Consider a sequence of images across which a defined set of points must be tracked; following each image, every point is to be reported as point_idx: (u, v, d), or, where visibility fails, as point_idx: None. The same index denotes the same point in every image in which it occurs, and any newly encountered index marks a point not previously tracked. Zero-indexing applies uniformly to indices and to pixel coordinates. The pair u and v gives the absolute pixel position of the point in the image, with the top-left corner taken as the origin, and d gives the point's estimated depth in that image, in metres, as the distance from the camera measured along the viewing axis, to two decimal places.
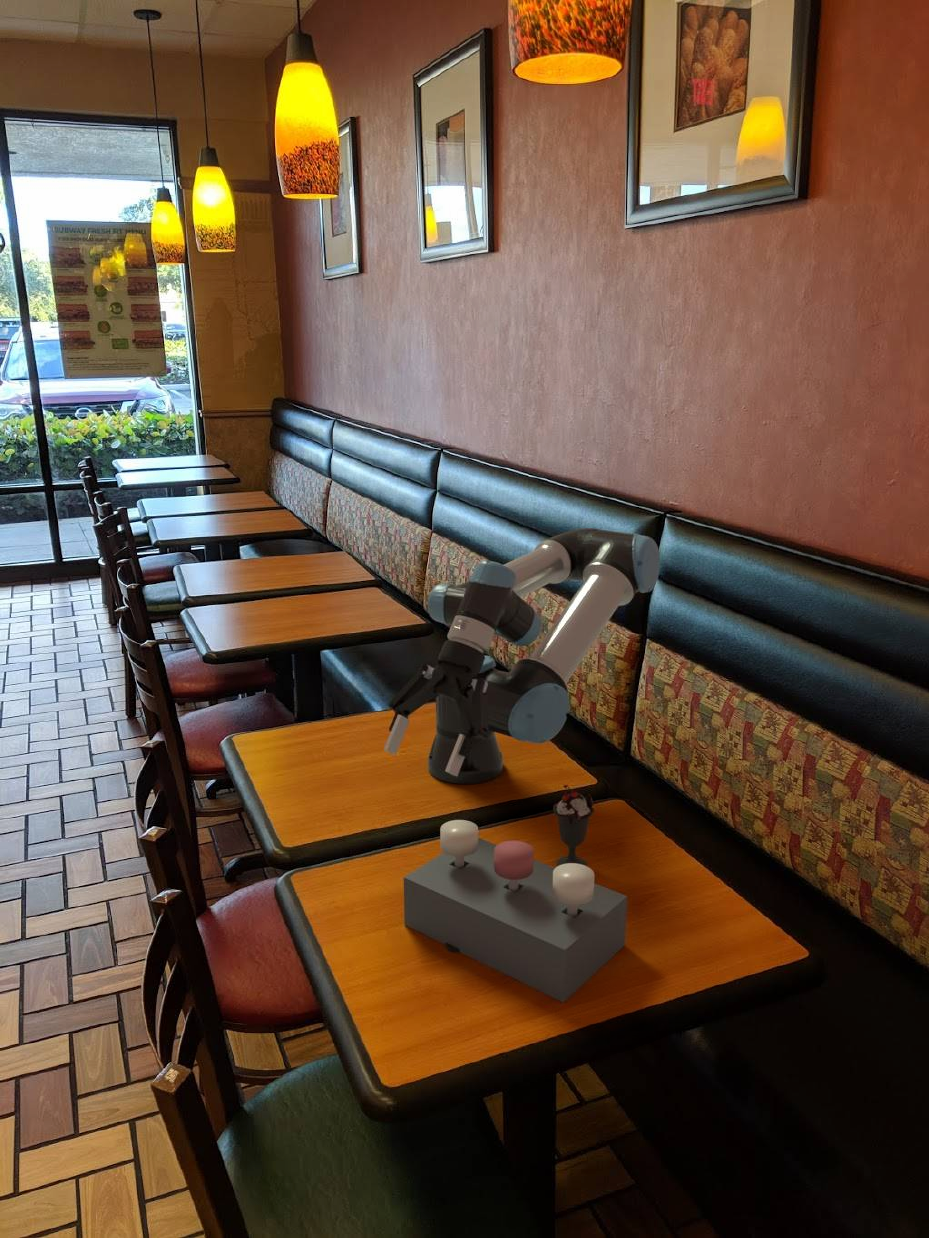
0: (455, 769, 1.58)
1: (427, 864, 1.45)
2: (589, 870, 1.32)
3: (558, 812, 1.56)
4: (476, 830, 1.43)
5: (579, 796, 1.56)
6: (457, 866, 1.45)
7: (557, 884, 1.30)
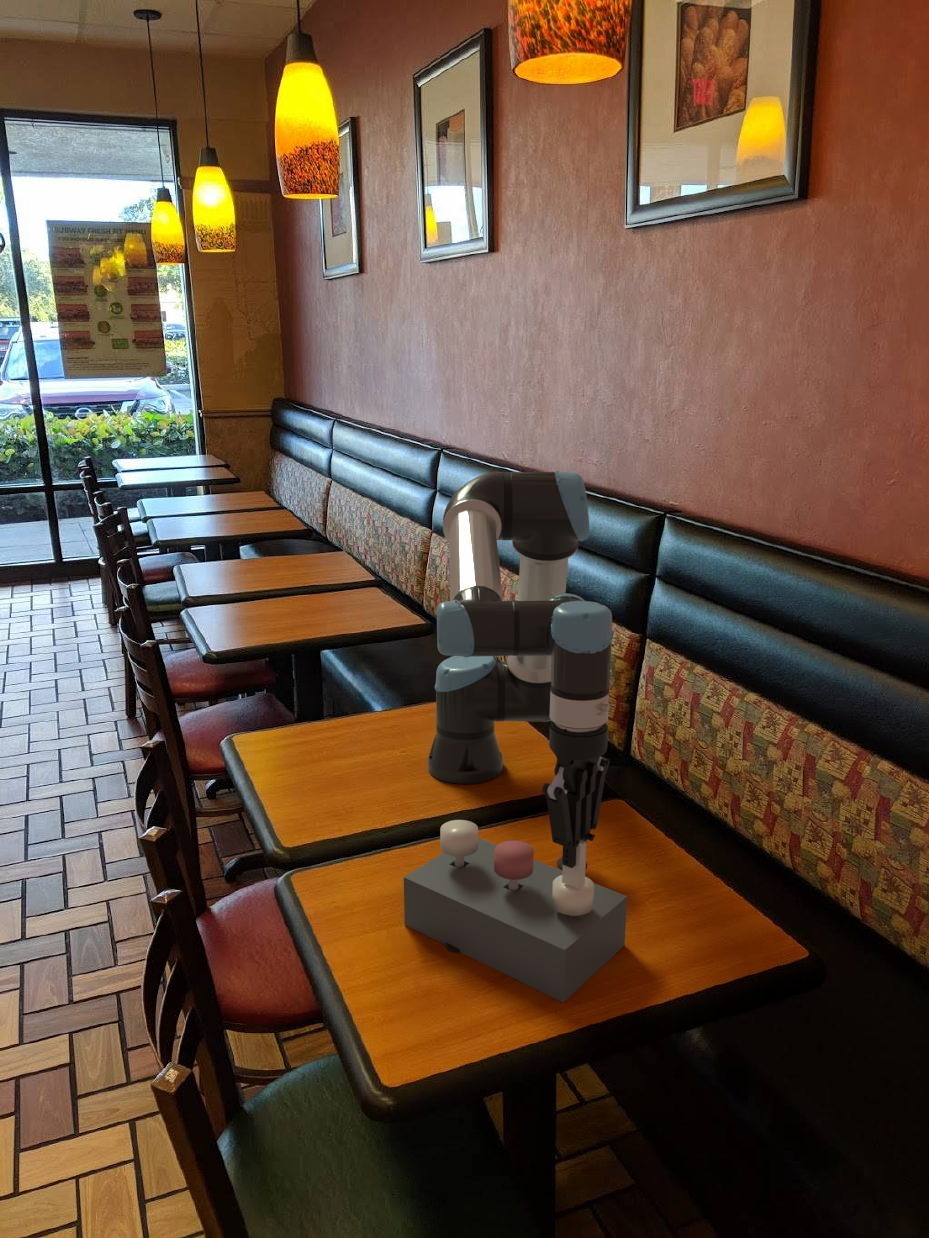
0: None
1: (427, 864, 1.45)
2: (589, 881, 1.33)
3: None
4: (476, 830, 1.43)
5: None
6: (457, 866, 1.45)
7: (557, 895, 1.31)
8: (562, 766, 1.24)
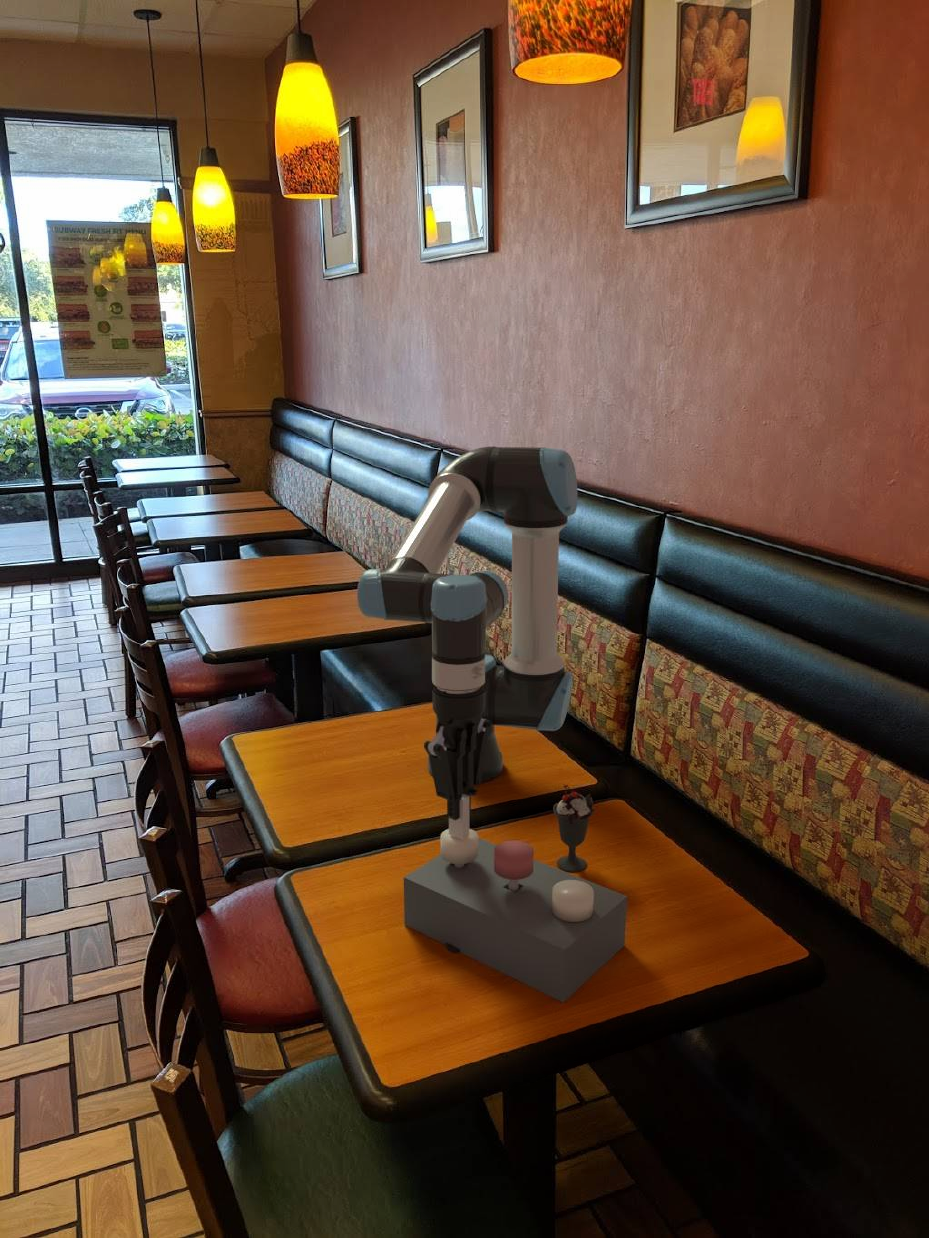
0: None
1: (427, 864, 1.45)
2: (588, 887, 1.33)
3: (558, 812, 1.56)
4: (476, 837, 1.43)
5: (579, 796, 1.56)
6: None
7: (557, 901, 1.31)
8: (442, 725, 1.36)
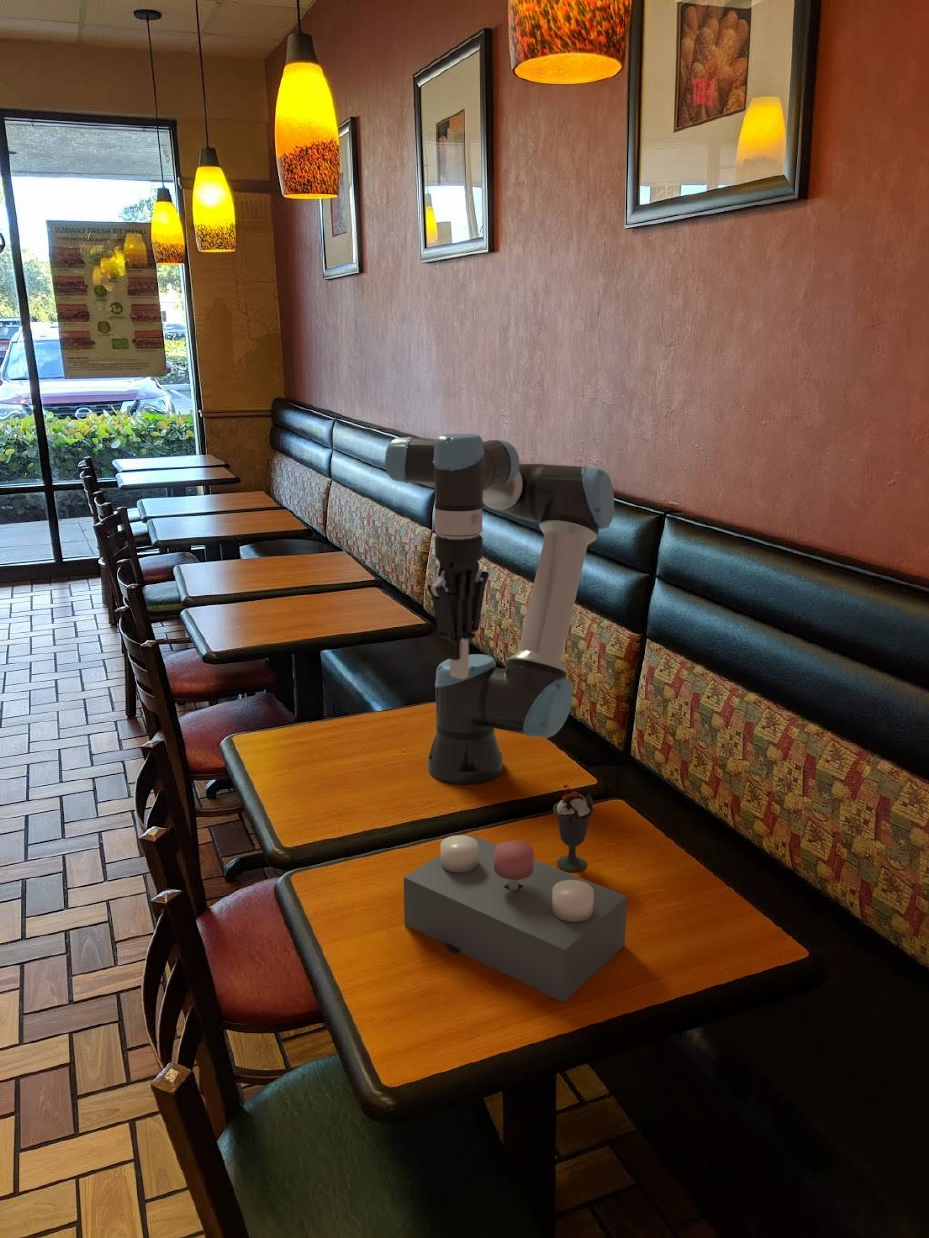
0: None
1: (427, 864, 1.45)
2: (588, 887, 1.33)
3: (558, 812, 1.56)
4: (476, 846, 1.44)
5: (579, 796, 1.56)
6: None
7: (557, 901, 1.31)
8: (444, 569, 1.51)
